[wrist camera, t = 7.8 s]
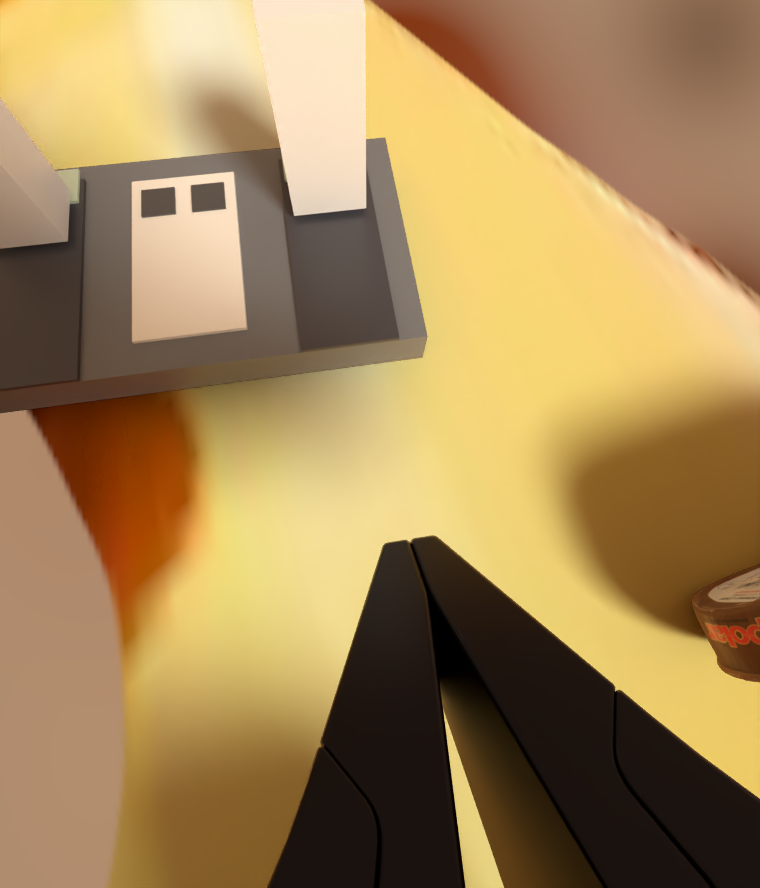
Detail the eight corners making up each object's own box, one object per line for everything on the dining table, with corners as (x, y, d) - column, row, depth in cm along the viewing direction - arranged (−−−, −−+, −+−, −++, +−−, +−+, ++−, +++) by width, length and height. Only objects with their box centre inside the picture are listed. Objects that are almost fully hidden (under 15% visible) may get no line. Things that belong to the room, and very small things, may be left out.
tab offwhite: (366, 208, 22) (365, 10, 15) (294, 216, 22) (254, 19, 14) (357, 160, 23) (352, -50, 15) (288, 167, 23) (247, -43, 15)
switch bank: (422, 357, 23) (428, 332, 20) (-22, 416, 21) (-68, 396, 19) (383, 170, 26) (385, 131, 24) (-1, 209, 25) (-38, 172, 22)
